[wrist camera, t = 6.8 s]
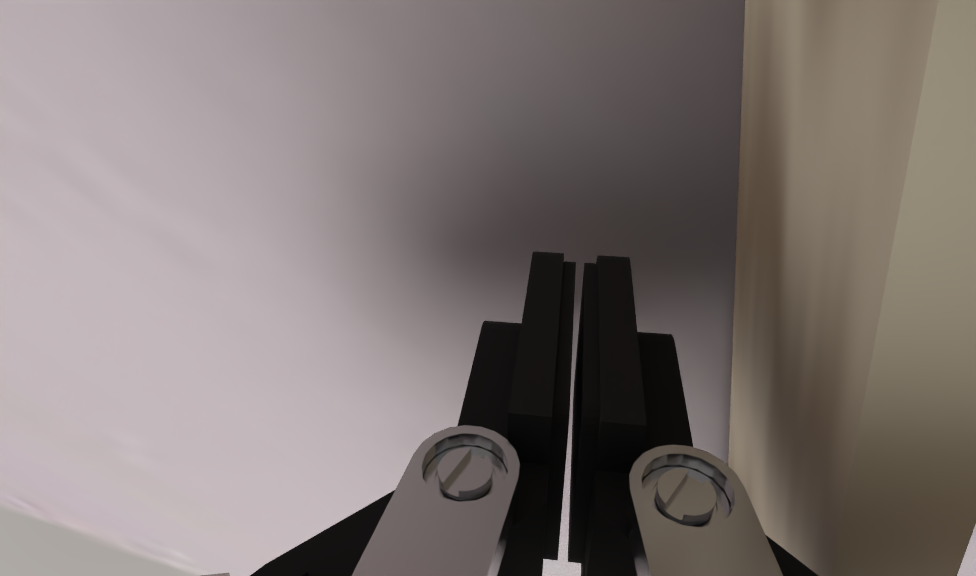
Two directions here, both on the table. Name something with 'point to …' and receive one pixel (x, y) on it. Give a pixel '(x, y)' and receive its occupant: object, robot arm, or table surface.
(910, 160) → the wooden plank
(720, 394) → the table surface
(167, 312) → the table surface
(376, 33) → the table surface
